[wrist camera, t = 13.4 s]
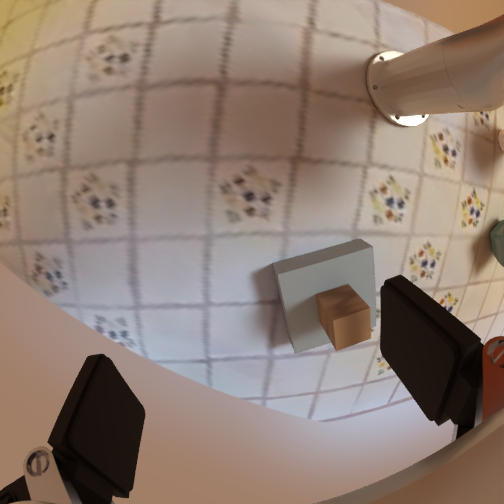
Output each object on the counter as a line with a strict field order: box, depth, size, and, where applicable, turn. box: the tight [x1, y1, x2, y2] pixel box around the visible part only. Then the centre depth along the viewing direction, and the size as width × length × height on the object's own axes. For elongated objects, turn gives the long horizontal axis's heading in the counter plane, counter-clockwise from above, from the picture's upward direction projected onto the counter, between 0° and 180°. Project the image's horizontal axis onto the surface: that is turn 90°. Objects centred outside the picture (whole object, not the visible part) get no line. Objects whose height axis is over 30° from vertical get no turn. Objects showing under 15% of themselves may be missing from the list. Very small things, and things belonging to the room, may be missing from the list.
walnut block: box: [316, 284, 371, 351], centre depth 36 cm, size 5×5×7 cm
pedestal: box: [272, 239, 376, 354], centre depth 41 cm, size 14×14×4 cm
